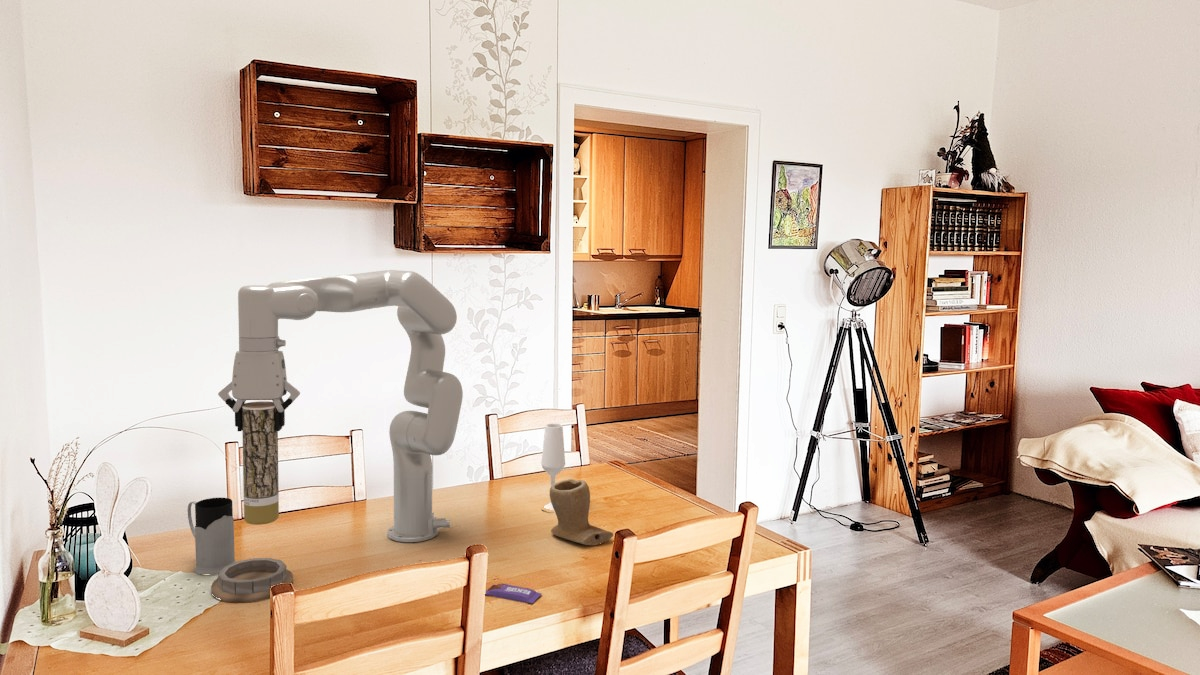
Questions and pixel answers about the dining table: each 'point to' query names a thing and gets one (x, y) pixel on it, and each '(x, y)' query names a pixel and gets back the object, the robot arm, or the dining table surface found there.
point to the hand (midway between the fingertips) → (260, 429)
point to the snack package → (513, 593)
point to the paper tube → (260, 463)
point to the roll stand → (250, 580)
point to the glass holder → (213, 534)
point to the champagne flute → (553, 453)
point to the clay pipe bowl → (575, 513)
